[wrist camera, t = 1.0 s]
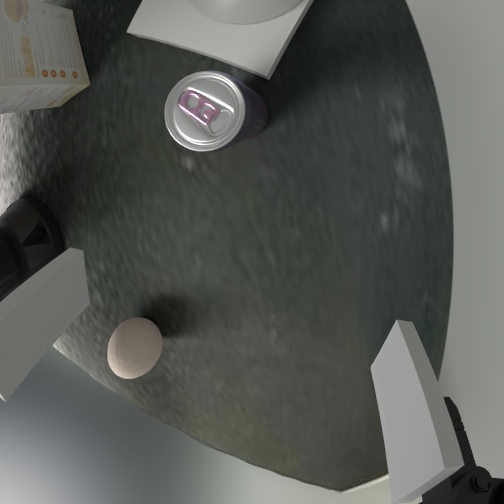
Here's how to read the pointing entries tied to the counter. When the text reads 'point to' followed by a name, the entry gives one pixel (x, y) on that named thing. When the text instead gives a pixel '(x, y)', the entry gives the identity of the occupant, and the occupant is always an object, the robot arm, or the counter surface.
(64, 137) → the counter surface
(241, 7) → the scale
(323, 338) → the counter surface
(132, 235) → the counter surface
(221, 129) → the beverage can
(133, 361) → the egg
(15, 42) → the coffeecake box
